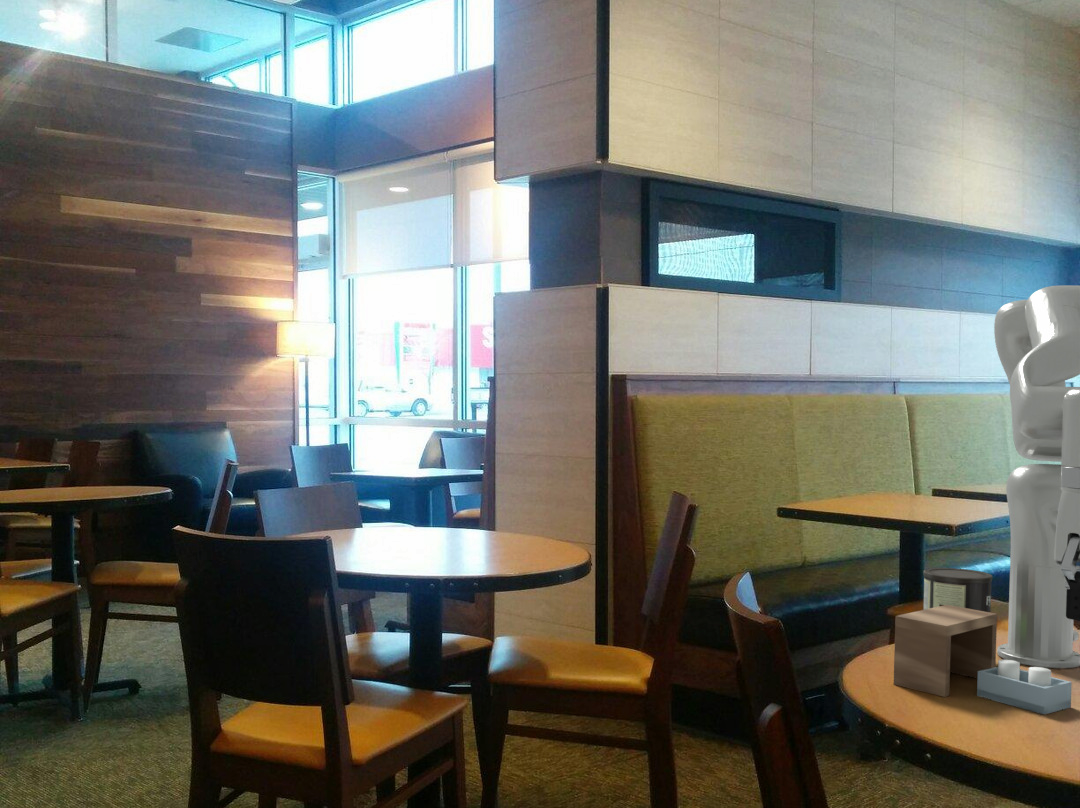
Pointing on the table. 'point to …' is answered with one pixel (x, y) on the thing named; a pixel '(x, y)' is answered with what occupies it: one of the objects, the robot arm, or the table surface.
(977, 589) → the coffee can
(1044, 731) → the table surface
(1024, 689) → the tray
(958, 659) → the wooden footstool
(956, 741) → the table surface
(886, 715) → the table surface
